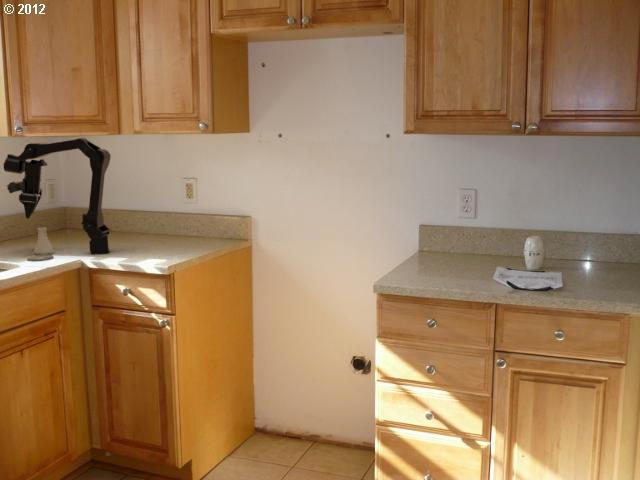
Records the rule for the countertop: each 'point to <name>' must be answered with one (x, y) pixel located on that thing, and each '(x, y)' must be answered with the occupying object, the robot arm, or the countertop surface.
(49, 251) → the flask
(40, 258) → the slate coaster
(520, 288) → the countertop surface
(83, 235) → the countertop surface
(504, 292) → the countertop surface
